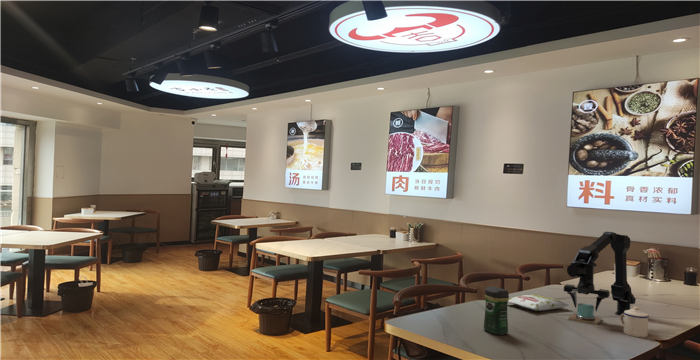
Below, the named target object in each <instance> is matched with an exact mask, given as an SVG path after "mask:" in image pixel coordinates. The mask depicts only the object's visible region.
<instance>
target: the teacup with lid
mask: <svg viewBox="0 0 700 360" xmlns="http://www.w3.org/2000/svg"><path fill="white" fill-rule="evenodd" d="M649 317H650V316H649V314H648V313H647V312H644V311H643V310H642V309H640V308H639V307H638V306H633V308H630V310H625V311H624V314H621V315H619V320H620V322H621V324H622V325H623V333H625V334H626V335H628V336H631V337H634V336H635V337H636V338H647V337H648V335H649V334H648V333H649V332H648V331H649ZM635 337H634V338H635Z"/></svg>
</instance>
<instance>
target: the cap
mask: <svg viewBox="0 0 700 360" xmlns="http://www.w3.org/2000/svg"><path fill="white" fill-rule="evenodd" d="M576 311H577V312H576V313H577V315H579V316H582V317H587V318H593V317H594V316H595V307H594V305H593V304H590V303H585V302H584V303H582V302H579V303H577V306H576Z"/></svg>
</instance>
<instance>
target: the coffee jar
mask: <svg viewBox="0 0 700 360" xmlns="http://www.w3.org/2000/svg"><path fill="white" fill-rule="evenodd" d="M484 291H485V292H484V300H485V307H484V309H485V310H484V320H483V330H484V331H485V330H486V332H488V333H490V334H493V335H500V336H503V335H504V334H505V335H506V334H508V333H509V322H508V303H509V302H508V300H509V298H510V296H509V295H510V294H509V291H508V290H507V289H504V288H500V287H498V286H492V285H491V286H486V288H485V290H484Z"/></svg>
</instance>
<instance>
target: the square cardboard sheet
mask: <svg viewBox="0 0 700 360" xmlns="http://www.w3.org/2000/svg"><path fill="white" fill-rule="evenodd" d="M567 320H568V321H573V322H577V323H578V322H579V323H583V324H589V325H594V326H598V325H599V324H600V323H601V322H602V321H603V317H601V316H595V315H594V317H593V318H587V317H582V316H579V315H577V312H574V313H572V314H571V315H570V316H569V317H568V319H567Z"/></svg>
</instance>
